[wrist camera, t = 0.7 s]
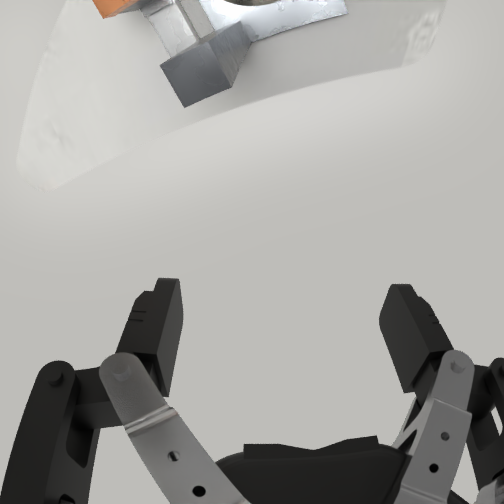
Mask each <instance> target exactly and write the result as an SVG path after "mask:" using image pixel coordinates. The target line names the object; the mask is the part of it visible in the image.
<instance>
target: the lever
mask: <svg viewBox="0 0 504 504" xmlns="http://www.w3.org/2000/svg"><path fill="white" fill-rule="evenodd" d="M93 2H94V4H95V6H96V7H97V9H98V11H99V12H100V14H101V16H102V17H103V19H104V18H108V17H113V16H116V15H117V14H120V13H125V12H131V11H136V10H139V9H140V10H141V12H142V13H143V15H144V17H148V16H150V15H152V14H153V13H155V12H157V11H159V10H160V9H162V8H164V7H166V6H168V5H170V4H172V2H171V0H93Z"/></svg>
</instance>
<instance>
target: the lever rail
mask: <svg viewBox="0 0 504 504" xmlns="http://www.w3.org/2000/svg"><path fill="white" fill-rule="evenodd" d="M171 2H172V4H170V5H168V6H166V7H164V8H162V9H160V10H159V11H157V12H155V13H153V14H152V15H150V16H148V19H149V20H150V22H151V24H152V26H153V27H154V29H155V31H156V32H157V34H158V36H159V38H160V39H161V41H162V43H163V45H164V46H165V48H166V50H167V52H168V53H169V55H170V57H171V58H172V57H173V56H175V55H176V54H178V53H179V52H181V51H182V50H184V49H185V48H187V47H189V46H190V45H192V44H193V43H195V42H197V41H198V40H200V39H199V37H198V35H197V33H196V31H195V29H194V28H193V26H192V24H191V22H190V20H189V18H188V17H187V15H186V13H185V11H184V9H183V8H182V6H181V4H180V2H179V1H178V0H171Z"/></svg>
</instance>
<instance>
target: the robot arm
mask: <svg viewBox="0 0 504 504" xmlns="http://www.w3.org/2000/svg"><path fill="white" fill-rule="evenodd" d="M182 325H183V305H182V297H181V289H180V281H179V279H173V278H158V280H157V282H156V285H155V288H154V291H144V292H143V293H142V294H141V295H140V296H139V297H138V298H137V299H136V300H135V302H134V305H133V307H132V310H131V313H130V315H129V318H128V321H127V323H126V325H125V328H124V331H123V333H122V336H121V339H120V342H119V344H118V347H117V350H116V352H115V354H113V355H111V356H109V357H108V358H106V359H105V360H104V361H103V362H102V364H101V366H99V367H97V368H90V369H84V370H74V369H73V367H72V366H71V365H70V364H69V363H67V362H65V361H53V362H50V363H48V364H46V365H45V366H44V367H43V368H42V369H41V370H40V371H39V373H38V375H37V378H36V380H35V383H34V386H33V389H32V391H31V394H30V396H29V399H28V402H27V404H26V407H25V410H24V413H23V416H22V419H21V422H20V425H19V428H18V431H17V434H16V438H15V441H14V444H13V448H12V451H11V455H10V458H9V462H8V466H7V470H6V474H5V478H4V482H3V486H2V491H1V495H0V504H88V498H89V490H90V483H91V477H92V472H93V466H94V460H95V454H96V449H97V444H98V439H99V434H100V429H101V428H106V427H114V426H122V425H123V426H124V428H125V431H126V432H127V434H128V436H129V438H130V440H131V442H132V443H133V445H134V447H135V449H136V450H137V452H138V454H139V456H140V457H141V459H142V461H143V462H144V464H145V466H146V467H147V469H148V470H149V472H150V474H151V475H152V477H153V478H154V480H155V481H156V483H157V484H158V486H159V488H160V489H161V491H162V492H163V493H164V495H165V496H166V498H167V499H168V501H169V502H170V504H469V503H468V502H467V501H465V500H464V499H463V498H461V497H460V496H459V495H457V494H456V493H455V492H453V491H452V490H451V487H452V484H453V481H454V478H455V475H456V472H457V469H458V466H459V463H460V460H461V456H462V453H463V450H464V446H465V443H467V447H468V450H469V454H470V457H471V461H472V465H473V469H474V473H475V477H476V480H477V485H478V490H479V493H478V495H477V500H476V502H474V504H504V358H496V359H494V361H493V362H492V363H491V364H490V366H489V367H486V366H480V365H474V364H473V362H472V360H471V359H470V358H469V356H468V355H466V354H465V353H463V352H461V351H458V350H454V348H453V347H452V345H451V342H450V341H449V339H448V337H447V335H446V333H445V331H444V329H443V328H442V326H441V324H439V320H438V319H437V317H436V316H435V313H434V311H433V310H432V308H431V306H430V305H429V304H428V303H427V302H426V301H425V300H424V299H423V298H422V297H418V296H417V294H416V292H415V291H414V289H413V287H412V286H411V285H410V284H392V285H391V286H390V288H389V290H388V293H387V296H386V299H385V302H384V304H383V307H382V310H381V313H380V317H379V325H380V329H381V332H382V334H383V337H384V340H385V342H386V345H387V347H388V350H389V353H390V355H391V358H392V360H393V364H394V366H395V369H396V372H397V375H398V377H399V380H400V383H401V386H402V389H403V392H404V393H409V392H415V394H416V397H415V398H414V400H413V402H412V405H411V407H410V409H409V412H408V414H407V416H406V419H405V421H404V424H403V426H402V428H401V431H400V432H399V435H398V437H397V438H396V440H395V442H394V443H393V444H392V446H388V445H384V444H379V443H378V438H377V436H369V437H361V438H354V439H347V440H343V441H341V442H338V443H335V444H332V445H329V446H326V447H323V448H320V449H316V450H310V449H303V448H298V447H292V446H287V445H281V444H244V449H243V452H240V453H236V454H233V455H230V456H227V457H225V458H223V459H220V460H218V461H217V462H214V461H213V460H212V459H211V457H210V456H209V455H208V453H207V452H206V451H205V450H204V448H203V447H202V446H201V444H200V443H199V442H198V440H197V439H196V438H195V436H194V435H193V434H192V432H191V431H190V430H189V428H188V427H187V425H186V424H185V423H184V421H183V420H182V418H181V417H180V416H179V414H178V413H177V412H176V410H175V409H174V408H172V407H169V405H168V404H167V402H166V401H165V399H164V398H163V397H169V392H170V387H171V381H172V376H173V370H174V365H175V360H176V355H177V350H178V345H179V340H180V335H181V331H182ZM495 407H496V408H497V411H498V414H499V416H500V419H501V422H502V426H503V429H502V433H501V435H500V436H499V433H498V430H497V427H496V424H495V422H494V419H493V416H492V414H491V411H492V410H493V409H494V408H495Z"/></svg>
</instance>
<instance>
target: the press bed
mask: <svg viewBox="0 0 504 504" xmlns="http://www.w3.org/2000/svg"><path fill="white" fill-rule="evenodd" d="M199 2H200V4H201V5H202V7H203V9H204V11H205V13H206V15H207V16H208V18H209V20H210V22H211V24H212V26H213V28H214V30H215V31H214V32H212V33H210V34H209V35H207V36H205V37H203V38H202V39H200V40H198V41H197V42H195V43H193V44H192V45H190V46H189V47H187V48H185V49H184V50H182V51H181V52H179V53H178V54H176V55H175V56H173V57H172V58H170V59H169V60H167V61H166V62H164V63H163V64H161V65H160V67H161V68H162V70H163V72H164V73H165V75H166V77H167V79H168V80H169V82H170V84H171V86H172V87H173V89H174V91H175V93H176V94H177V96H178V98H179V100H180V101H181V103H182V105H183V107H184V108H185V107H187V106H190V105H192V104H194V103H196V102H198V101H201V100H203V99H205V98H207V97H210V96H212V95H214V94H217V93H219V92H221V91H224V90H226V89H229V88H231V87H232V85H233V83H234V80H235V78H236V76H237V73H238V71H239V69H240V66H241V64H242V62H243V60H244V57H245V55H246V53H247V51H248V49H249V46H250V44H251V43H252V42H254V41H257V40H260V39H263V38H265V37H268V36H271V35H274V34H277V33H280V32H283V31H286V30H289V29H292V28H295V27H298V26H302V25H305V24H309V23H312V22H316V21H319V20H323V19H327V18H331V17H335V16H339V15H343V14H347V13H348V11H347V8H346V6H345V3H344V1H343V0H199Z"/></svg>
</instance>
